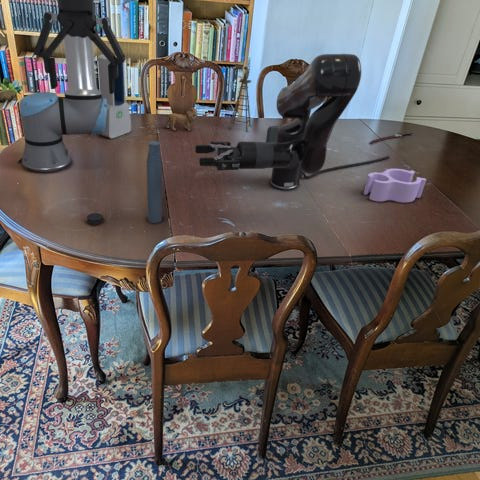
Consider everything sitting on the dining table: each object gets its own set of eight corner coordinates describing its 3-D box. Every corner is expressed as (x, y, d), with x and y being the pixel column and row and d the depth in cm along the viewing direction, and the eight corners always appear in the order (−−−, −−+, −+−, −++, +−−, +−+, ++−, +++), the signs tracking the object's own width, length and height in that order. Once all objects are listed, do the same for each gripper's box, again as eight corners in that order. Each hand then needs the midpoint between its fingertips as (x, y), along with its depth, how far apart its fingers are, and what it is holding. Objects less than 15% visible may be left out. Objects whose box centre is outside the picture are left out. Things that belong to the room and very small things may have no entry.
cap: (84, 221, 131) (83, 216, 130) (95, 216, 134) (95, 211, 133) (94, 226, 129) (94, 221, 128) (105, 221, 132) (105, 215, 131)
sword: (407, 132, 223) (408, 129, 223) (413, 134, 221) (413, 131, 221) (364, 143, 208) (365, 141, 207) (370, 146, 206) (370, 143, 205)
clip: (376, 205, 156) (381, 186, 152) (357, 188, 166) (361, 170, 162) (425, 200, 162) (431, 182, 159) (404, 184, 172) (409, 167, 168)
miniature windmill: (247, 131, 204) (254, 60, 188) (228, 128, 205) (234, 57, 189) (250, 125, 212) (258, 55, 196) (232, 122, 213) (238, 53, 197)
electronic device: (109, 139, 182) (104, 59, 166) (96, 134, 185) (89, 55, 169) (132, 131, 192) (129, 55, 175) (118, 127, 195) (114, 51, 178)
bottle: (151, 214, 138) (150, 138, 125) (164, 217, 137) (164, 141, 124) (145, 220, 134) (143, 143, 122) (157, 224, 134) (157, 146, 121)
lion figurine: (195, 126, 204) (195, 105, 199) (198, 130, 200) (199, 109, 195) (161, 127, 199) (161, 106, 194) (164, 131, 195) (164, 110, 190)
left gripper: (8, -15, 96) (24, 89, 108) (130, -2, 98) (133, 98, 110) (21, -18, 103) (35, 81, 114) (136, -6, 104) (138, 90, 116)
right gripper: (250, 133, 135) (194, 132, 131) (262, 153, 123) (201, 152, 120) (247, 157, 139) (193, 157, 135) (259, 178, 127) (200, 179, 124)
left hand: (83, 90), depth 112 cm, fingers open, 13 cm apart
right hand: (197, 155), depth 128 cm, fingers open, 8 cm apart
